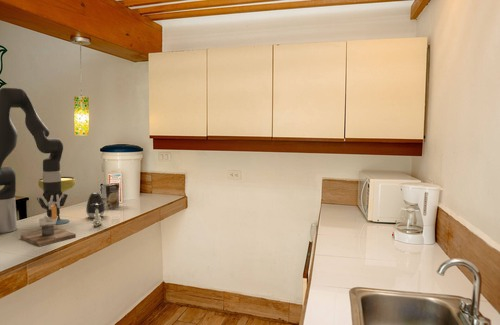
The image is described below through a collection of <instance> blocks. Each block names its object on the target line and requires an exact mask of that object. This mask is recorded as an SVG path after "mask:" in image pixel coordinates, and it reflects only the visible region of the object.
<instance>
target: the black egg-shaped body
mask: <svg viewBox="0 0 500 325" xmlns="http://www.w3.org/2000/svg"><path fill="white" fill-rule="evenodd" d="M92 203H103V200H102V195H101V194H100V193H99V192H96V191H95V192H92V193H90V195H89V197H88V199H87V203H86V207H85V208H86V211H85V212H86V214H87V216H88V217H89V218H91V219H95V217H94V215H95V214H96V213H95V210H96V209H95V208H94V207H91V206H90V204H92ZM98 210H99V214H100V218H102V216H103V215H104V212H105V211H106V209H105V208H104V204H103V206H102V205H101V207H99V208H98Z"/></svg>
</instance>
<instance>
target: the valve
mask: <svg viewBox="0 0 500 325" xmlns="http://www.w3.org/2000/svg"><path fill="white" fill-rule="evenodd" d="M101 205H102V206H103V203H92V204H90V206H91V207H94V208H95V209H96V210H95V213H96V214H95V215H94V217H95V218H93V223H92V224H93V226H95V227H98V226H100V225H101V223H102V217H100V214H99V210H98V208H99V207H101Z"/></svg>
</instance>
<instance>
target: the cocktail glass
mask: <svg viewBox="0 0 500 325" xmlns="http://www.w3.org/2000/svg"><path fill="white" fill-rule="evenodd" d="M37 184H38V187H39V188H40V189H41V190H43V178H40V179H38V183H37ZM75 185H76V179H75V177H73V176H61V191H62V193H63V194H64V192H66V191H68V190H70V189H71V188H73V187H74V186H75ZM69 223H70V219H64V218H63V219H62V218H61V217H60V215H59V216H57V222H56V225H55V226H58V225H65V224H69Z"/></svg>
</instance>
